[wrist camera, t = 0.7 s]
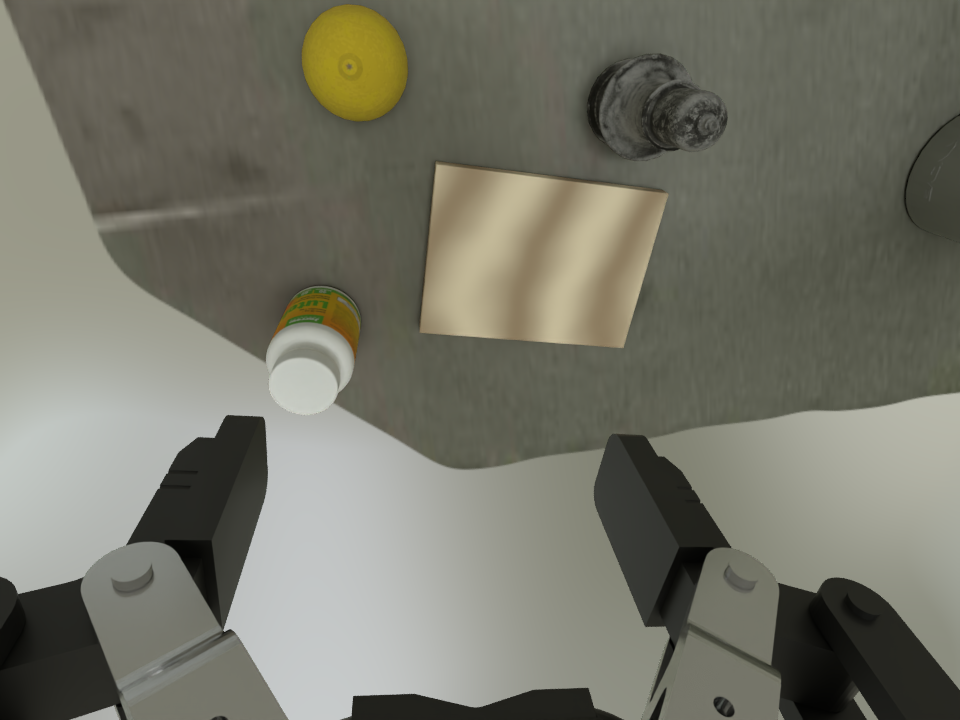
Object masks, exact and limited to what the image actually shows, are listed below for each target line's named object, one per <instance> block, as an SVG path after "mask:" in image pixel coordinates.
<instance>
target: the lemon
mask: <svg viewBox="0 0 960 720" xmlns="http://www.w3.org/2000/svg"><path fill="white" fill-rule="evenodd" d="M302 67H303V71H304V75H305V79H306V82H307V84H308V86H309V88H310V90H311V92H312V94H313V95H314V96H315V97H316V99H317V100H318V101H319V102H320V104H321V105H323V106H324V107H325V108H326V109H327V110H329V111H330V112H331V113H333V114H335V115H337V116H339V117H341V118H343V119H347V120H352V121H370V120H373V119H376V118H379V117H381V116H383V115H384V114H386V113H387V112H388V111H390V110H391V109H392V108H393V107H394V106H395V104H396V103H397V102H398V101H399V99H400V98H401V95H402V93H403V91H404V89H405V86H406V81H407V76H408V64H407V56H406V52H405V48H404V45H403V43H402V41H401V39H400V37H399V35H398V33H397V31H396V30H395V29H394V28H393V26H392V25H391V24H390V23H389V22H388V21H387V19H385V18H384V17H382V16H381V15H380V14H378V13H377V12H376V11H374V10H371V9H369V8H366V7H364V6H360V5H349V4H346V5H341V6H336V7H333V8H331V9H329V10H327V11H325V12H323V13H322V14H321V15H320V16H319V17H318V18H317V19H316V20H315V21H314V22H313V23H312V24H311V26H310V28H309V30H308V32H307V34H306V36H305V39H304V43H303V48H302Z"/></svg>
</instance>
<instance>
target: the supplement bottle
mask: <svg viewBox="0 0 960 720" xmlns="http://www.w3.org/2000/svg"><path fill="white" fill-rule="evenodd" d="M360 328H361V317H360V313H359V310H358V308H357V306H356V304H355V303H354V302H353V300H352V299H351V298H350V297H349V296H347V295H346V294H345V293H343V292H342V291H340V290H338V289H335V288H332V287H328V286H313V287H309V288H306V289H304V290H302V291H300V292H299V293H297V294H296V295H295V296H294V297H293V298H292V299H291V301H290V302H289V304H288V306H287V308H286V310H285V312H284V314H283V316H282V318H281V321H280V323H279V325H278V327H277V329H276V331H275V333H274V336H273V338H272V340H271V342H270V344H269V347H268V350H267V354H266V366H267V370H268V373H269V375H270V377H269V382H268V383H269V391H270V394H271V396H272V397H273V399H274V400H275V401H276V403H277V404H278V405H280V406H281V407H282V408H284V409H285V410H287V411H290V412H292V413H295V414H301V415H312V414H316V413H319V412H322V411H324V410H326V409H327V408H328V407H330V406H331V405H332V403H333V402H334V401H335V399H336V397H337V394H338V392H340V391H341V390H342V389H343V388H344V387H345V386H346V385H347V383H348V382H349V380H350V378H351V376H352V373H353V370H354V364H355V358H356V352H357V346H358V340H359V334H360Z"/></svg>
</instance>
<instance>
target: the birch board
mask: <svg viewBox="0 0 960 720" xmlns="http://www.w3.org/2000/svg"><path fill="white" fill-rule="evenodd" d="M667 197H668V193H666V192H665V191H663V190H658V189H651V188H643V187H635V186H627V185H619V184H611V183H604V182H596V181H588V180H580V179H572V178H564V177H557V176H549V175H541V174H533V173H525V172H517V171H510V170H502V169H494V168H486V167H478V166H470V165H462V164H455V163H447V162H439V161H436V162H435V172H434V182H433V193H432V203H431V213H430V223H429V233H428V244H427V254H426V264H425V274H424V284H423V294H422V305H421V315H420V325H419V327H420V333H430V334H444V335H457V336H470V337H484V338H497V339H510V340H524V341H537V342H551V343H564V344H577V345H591V346H604V347H618V348H623V347H624V343H625V340H626V337H627V333H628V330H629V326H630V323H631V320H632V316H633V313H634V309H635V306H636V303H637V299H638V296H639V292H640V289H641V286H642V282H643V279H644V275H645V272H646V269H647V265H648V262H649V258H650V255H651V252H652V248H653V245H654V241H655V238H656V235H657V231H658V228H659V224H660V221H661V218H662V214H663V211H664V207H665V204H666V201H667Z"/></svg>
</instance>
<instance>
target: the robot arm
mask: <svg viewBox="0 0 960 720" xmlns="http://www.w3.org/2000/svg"><path fill="white" fill-rule="evenodd" d="M906 205H907V209H908V213H909V215H910V217H911V219H912V220H913V222H914V223H915V224H916V225H917V226H918V227H920V228H921V229H923V230H925V231H928V232H930V233H933V234H936V235H939V236H942V237H945V238H948V239H950V240H953V241H956V242H959V243H960V116H958V117H956V118H955V119H954V120H952V121H951V122H949V123H948V124H947V125H945V126H944V127H943V128H942V129H941V130H940V131H939V132H938V133H937V134H936V135H935V136H934V137H933V138H932V139H931V140H930V142H929V143H928V144H927V145H926V147H925V148H924V149H923V150H922V152H921V154H920V156H919V157H918V159H917V161H916V162H915V164H914V166H913V169H912V172H911V174H910V177H909V180H908V185H907V190H906ZM267 478H268V467H267V448H266V430H265V420H264V418H263V417H255V416H254V417H253V416H234V415H227V416H226V417H225V419H224V420H223V422H222V424H221V426H220V429H219V430H218V433H217V434H216V436H215V438H203V437H198V438H196V439H195V440H194V441H193V442H191V443H190V444H189V445H188V446H186V447H185V448H184V449H182V450H181V451H180V452H179V453H178V454H177V456H176V458H175V460H174V461H173V464H172V465H171V467H170V469H169V472H168V474H166V476H165V477H164V479H163V481H162V483H161V484H160V489H158V490H157V491H156V493H155V495H154V497H153V499H152V500H151V502H150V504H149V506H148V507H147V509H146V511H145V513H144V514H143V516H142V518H141V520H140V522H139V523H138V525H137V527H136V529H135V530H134V532H133V534H132V536H131V538H130V539H129V541H128V543H127V544H126V546H123V547H120V548H118V549H116V550H114V551H112V552H110V553H108V554H106V555H105V556H103V557H102V558H101V559H99V560H98V561H97V562H96V563H95V564H94V565H93V566H92V567H91V568H90V569H89V570H88V571H87V573H86V575H85V576H84V577H83V578H80V579H78V580H75V581H71V582H68V583H64V584H60V585H56V586H51V587H47V588H43V589H38V590H34V591H30V592H25V593H22V594H18V593H17V591H16V588H15V586H14V585H13V584H12V582H10V581H8V580H7V579H5V578H2V577H0V720H70V719H73V718H76V717H79V716H83V715H86V714H89V713H92V712H95V711H98V710H101V709H104V708H107V707H110V706H113V705H114V707H115V709H116V712H117V715H118V717H119V720H288V718H287V717H286V715H285V713H284V712H283V710H282V708H281V707H280V705H279V703H278V702H277V700H276V698H275V697H274V695H273V693H272V692H271V690H270V688H269V687H268V685H267V683H266V682H265V680H264V678H263V677H262V675H261V673H260V672H259V670H258V668H257V667H256V665H255V663H254V662H253V660H252V658H251V657H250V655H249V653H248V652H247V650H246V648H245V647H244V645H243V643H242V642H241V640H240V639H239V637H238V636H237V635H236V633H235V632H234V631H232V630H231V629H230V630H227V631H226V632H224V631H223V629H224V626H225V623H226V620H227V617H228V613H229V610H230V607H231V604H232V601H233V598H234V594H235V591H236V588H237V585H238V582H239V579H240V575H241V572H242V569H243V566H244V563H245V560H246V556H247V553H248V550H249V547H250V544H251V540H252V537H253V534H254V531H255V528H256V525H257V522H258V518H259V515H260V512H261V509H262V505H263V503H264V499H265V495H266V489H267ZM594 501H595V506H596V509H597V512H598V514H599V517H600V519H601V521H602V524H603V526H604V529H605V531H606V533H607V536H608V538H609V541H610V543H611V545H612V548H613V550H614V553H615V555H616V557H617V560H618V562H619V565H620V567H621V570H622V572H623V574H624V577H625V579H626V581H627V584H628V586H629V589H630V591H631V594H632V596H633V598H634V601H635V603H636V605H637V608H638V611H639V613H640V615H641V618H642V620H643V622H644V625H645V626H646V627H659V626H666V628H667V631H668V633H669V635H670V636H669V638H668V640H667V642H666V644H665V647H664V650H663V653H662V656H661V659H660V662H659V666H658V669H657V672H656V675H655V678H654V681H653V684H652V687H651V691H650V694H649V697H648V700H647V703H646V706H645V710H644V712H643V716H642V718H641V720H778V711H779V710H780V712H781V714H782V716H783V718H784V719H785V720H867V719H866V718H865V716H864V714H863V713H862V711H861V710H860V708H859V707H858V705H857V704H856V702H855V700H854V699H853V698H854V697H855V695H856V694H857V693H858V692H859V691H860V692H861V694H862V695H863V697H864V698H865V700H866V702H867V703H868V705H869V706H870V708H871V709H872V711H873V712H874V714H875V715H876V717H877V718H878V720H960V690H959V689H958V687H957V686H956V685H955V684H954V683H953V681H952V680H951V679H950V678H949V676H948V675H947V674H946V673H945V671H944V670H943V669H942V668H941V667H940V665H939V664H938V663H937V662H936V660H935V659H934V658H933V657H932V655H931V654H930V653H929V652H928V651H927V650H926V648H925V647H924V646H923V644H922V643H921V642H920V641H919V639H918V638H917V637H916V636H915V635H914V633H913V632H912V631H911V630H910V628H909V627H908V626H907V625H906V624H905V622H904V621H903V620H902V619H901V617H900V616H899V615H898V614H897V612H896V611H895V610H894V609H893V608H892V607H891V606H890V604H889V603H888V602H886V601H885V600H884V599H883V598H882V597H881V596H880V595H878V594H877V593H875V592H874V591H872V590H871V589H869V588H867V587H866V586H864V585H862V584H860V583H857V582H855V581H852V580H848V579H845V578H830V579H827V580H825V581H824V583H822V585H821V587H820V588H819V590H818V592H817V593H813V592H809V591H805V590H802V589H798V588H795V587H791V586H787V585H784V584H780V583H777V581H776V579H775V577H774V576H773V574H772V573H771V572H770V570H769V569H768V568H767V567H766V566H765V565H764V564H762V563H761V562H760V561H758V560H757V559H756V558H754V557H752V556H751V555H749V554H747V553H744V552H742V551H739V550H736V549H732V548H731V546H730V545H729V544H728V542H727V540H726V539H725V537H724V536H723V534H722V533H721V531H720V529H719V528H718V526H717V525H716V523H715V522H714V520H713V519H712V517H711V516H710V514H709V513H708V511H707V510H706V508H705V507H704V505H703V504H702V503H700V499H699V498H698V496H697V494H696V493H695V491H694V490H692V487H691V485H690V484H689V482H688V481H687V479H686V478H685V476H684V475H683V473H682V472H681V470H679V469H678V468H677V467H676V466H675V465H673V464H672V463H671V462H670V461H669V460H667V459H666V458H665V457H658V456H657V454H656V453H655V451H654V450H653V448H652V446H651V445H650V443H649V441H648V440H647V438H646V437H645V436H643V435H626V434H612V435H611V436H610V437H609V439H608V442H607V445H606V448H605V452H604V455H603V458H602V462H601V465H600V468H599V472H598V475H597V478H596V481H595V486H594ZM342 720H623V719H621V718H619V717H617V716H615V715H613V714H610V713H608V712H605V711H602V710H599V709H595V708H594V706H593V702H592V699H591V695H590V692H589V689H588V688H573V689H544V690H532V691H529V692H526V693H522V694H520V695H516V696H513V697H510V698H507V699H504V700H501V701H498V702H495V703H492V704H490V705H486V706H483V707H477V708H474V707H468V706H464V705H459V704H455V703H451V702H446V701H442V700H438V699H434V698H429V697H425V696H421V695H416V694H400V695H370V696H353V705H352V716H351V717H348V718H345V719H342Z"/></svg>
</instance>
